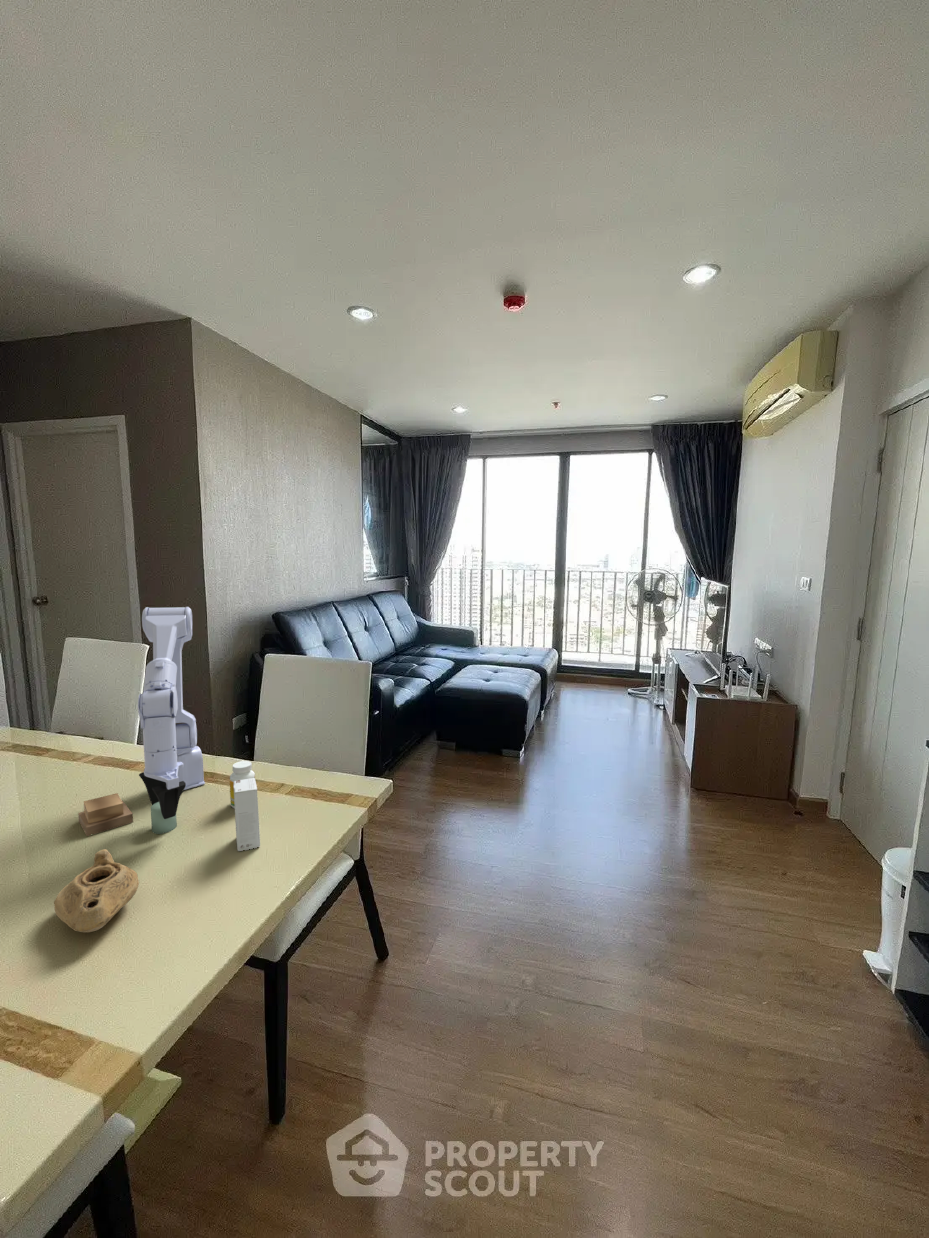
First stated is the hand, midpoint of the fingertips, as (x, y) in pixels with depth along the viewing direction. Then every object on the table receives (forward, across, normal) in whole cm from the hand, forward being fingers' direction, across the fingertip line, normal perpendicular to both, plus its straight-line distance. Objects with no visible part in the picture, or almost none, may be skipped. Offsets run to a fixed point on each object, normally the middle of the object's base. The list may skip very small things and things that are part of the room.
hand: (163, 810), depth 106 cm
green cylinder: (+4, 0, 0) cm, 4 cm away
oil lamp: (+4, -21, +15) cm, 27 cm away
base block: (+4, +11, +8) cm, 14 cm away
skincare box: (+4, -17, -10) cm, 20 cm away
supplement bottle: (+4, -1, -16) cm, 17 cm away
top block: (+2, +11, +8) cm, 14 cm away
